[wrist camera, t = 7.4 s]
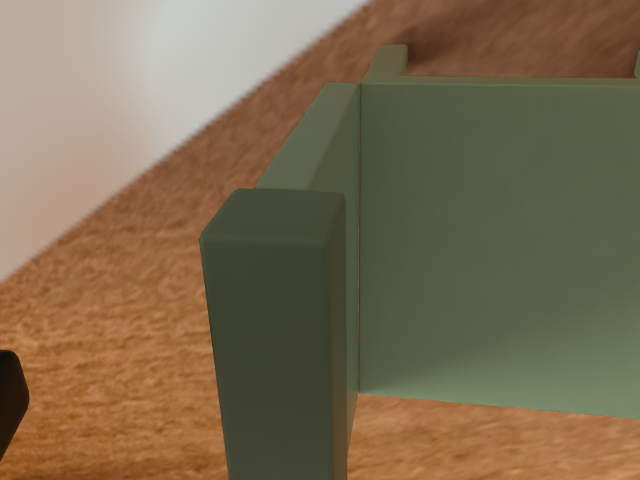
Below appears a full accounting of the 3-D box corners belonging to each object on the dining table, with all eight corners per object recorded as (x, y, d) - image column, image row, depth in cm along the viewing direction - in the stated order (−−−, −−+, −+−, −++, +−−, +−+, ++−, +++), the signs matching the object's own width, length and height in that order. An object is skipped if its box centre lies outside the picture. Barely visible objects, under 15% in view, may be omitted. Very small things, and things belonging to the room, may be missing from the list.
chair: (345, 41, 15) (193, 235, 5) (672, 41, 14) (1199, 287, 4) (346, 291, 18) (252, 686, 9) (612, 308, 17) (839, 787, 7)
